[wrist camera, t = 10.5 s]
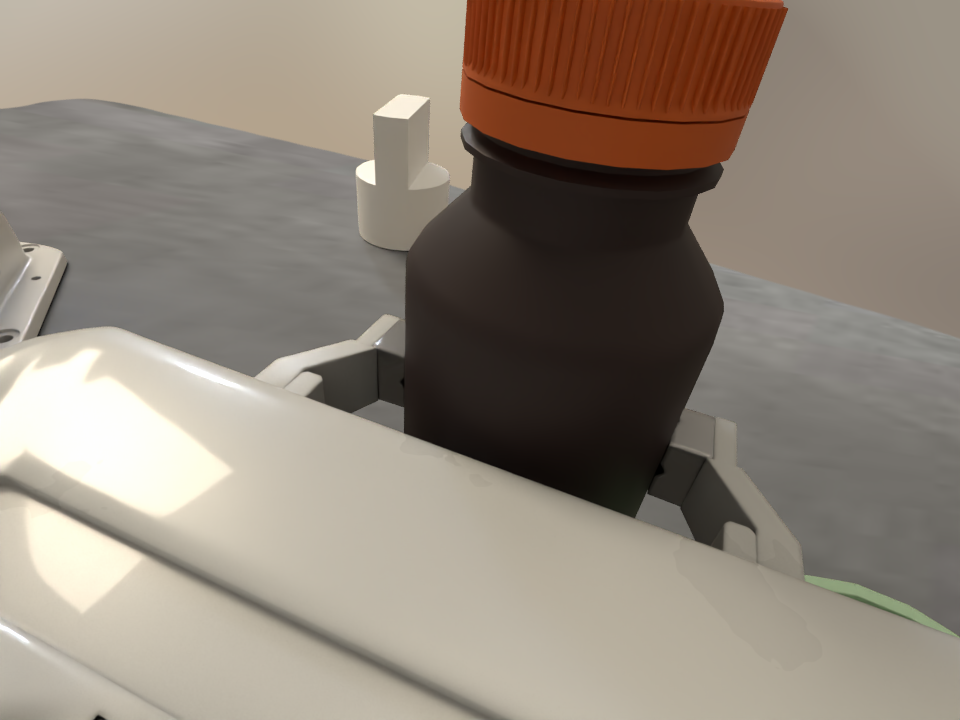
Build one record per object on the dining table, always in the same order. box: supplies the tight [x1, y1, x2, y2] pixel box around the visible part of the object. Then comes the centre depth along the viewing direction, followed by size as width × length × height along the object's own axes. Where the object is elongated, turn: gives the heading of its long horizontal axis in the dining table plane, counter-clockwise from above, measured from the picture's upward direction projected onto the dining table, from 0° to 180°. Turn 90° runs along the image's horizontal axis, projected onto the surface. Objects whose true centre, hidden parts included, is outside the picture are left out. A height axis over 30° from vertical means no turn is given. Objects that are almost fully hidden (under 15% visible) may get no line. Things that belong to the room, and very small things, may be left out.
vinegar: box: [404, 0, 788, 518], centre depth 14 cm, size 7×7×20 cm
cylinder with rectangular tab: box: [356, 94, 450, 251], centre depth 51 cm, size 9×9×12 cm
